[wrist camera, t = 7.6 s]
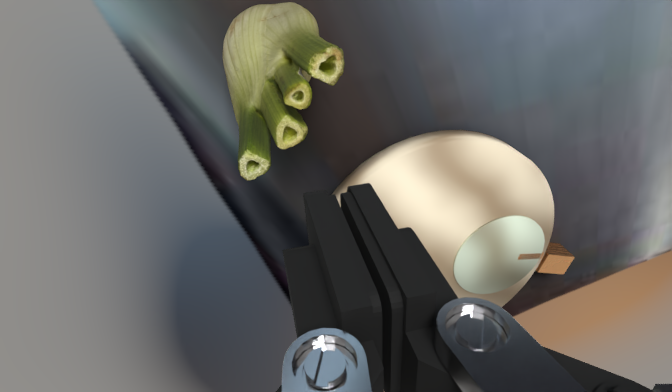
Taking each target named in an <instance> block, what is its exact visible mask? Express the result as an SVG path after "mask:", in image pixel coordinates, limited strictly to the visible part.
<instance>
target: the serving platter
mask: <svg viewBox="0 0 672 392" xmlns="http://www.w3.org/2000/svg"><path fill="white" fill-rule="evenodd" d="M365 183H370V184H371V185H372V187H373V189H374V190H375V192H376V194H377V195H378V197H379V198H380V200H381V202H382V203H383V205H384V207H385V208H386V210H387V211H388V213H389V215H390V216H391V218H392V220H393V221H394V223H395V225H396V226H397V228H398V229H400V228H406V227H410V228H412V230H413V231H414V232H415V233H416V235H417V236H418V238H419V239H420V241H421V242H422V244H423V245H424V247H425V249H426V250H427V252H428V253H429V255H430V256H431V258H432V259H433V261H434V262H435V264H436V265H437V267H438V268H439V270H440V271H441V273H442V274H443V276H444V277H445V279H446V280H447V282H448V283H449V285H450V286H451V288H452V289H453V291H454V292H455V294H456V295H457V297H458V298H463V297H472V298H480V299H484V300H488V301H490V302H492V303H494V304H496V305H498V306H500V307H502V306H504V305H505V304H506V303H507V302H508V301H509V300H511V299H512V298H513V297H514V296H515V295H516V294H517V292H518V291H519V290H520V289H521V288H522V287H523V286H524V285H525V284H526V282H527V281H528V280H529V279H530V277H531V276H532V274H533V273H534V271H535V270H536V268H537V267H538V265H539V263H540V262H541V260H542V258H543V256H544V254H545V252H546V249H547V247H548V244H549V241H550V238H551V234H552V230H553V223H554V202H553V197H552V192H551V190H550V187H549V185H548V182H547V180H546V178H545V177H544V175H543V174H542V172H541V171H540V169H539V168H538V167H537V166H536V165H535V164H534V163H533V162H532V161H531V160H529V159H528V158H527V157H525V156H524V155H522V154H521V153H520V152H518V151H517V150H515V149H514V148H512V147H511V146H509V145H508V144H507V143H505V142H503V141H501V140H499V139H497V138H495V137H493V136H490V135H487V134H483V133H480V132H474V131H467V130H442V131H436V132H429V133H425V134H421V135H417V136H414V137H410V138H408V139H405V140H403V141H400V142H398V143H395V144H393V145H391V146H389V147H387V148H385V149H384V150H382V151H380V152H378V153H376V154H375V155H373V156H372V157H371V158H369V159H368V160H366V161H365V162H363V163H362V164H361V165H360V166H358V167H357V168H356V169H355V170H354V171H353V172H352V173H350V174H349V175H348V176H347V177H346V178H345V179H344V181H343V182H342V183H341V184H340V185H339V186H338V187H337V188H336V189H335V191H334V192H333V194H335V196H336V198H337V200H338V202H339V205H340V207H341V202H340V194H341V193H345V192H347V187H348V186H353V185H359V184H365ZM333 194H332V195H333Z"/></svg>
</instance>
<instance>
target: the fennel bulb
mask: <svg viewBox="0 0 672 392" xmlns="http://www.w3.org/2000/svg"><path fill="white" fill-rule="evenodd" d="M223 64H224V69H225V73H226V77H227V83H228V88H229V91H230V95H231V101H232V104H233V109H234V113H235V116H236V120H237V123H238V125H239V150H238V169H239V172H240V175H241V176H242V177H243V178H244V179H246V180H253V179H256V177H258V176H260V175H262V174H265V173H266V172H267V171H268V170H269V168H270V166H271V153H270V151H271V147H270V143H271V140H270V133H271V135H272V137H273V139H274V141H275V143H276V145H277V146H278V147H279V148H280V149H287V148H290V147H293V146H295V145H297V144H298V143H300V142H301V141H303V140H304V139H305V137H306V135H307V133H308V128H307V125H306V123H305V122H304V121H303V119H302V116H301V115H300V114H299V113H298V111H297V110H296V108H297V109H300V110H301V109H306V108H308V106H309V105H310V103H311V99H312V90H311V87H310V85H309V81H310V78H311V76H312V77H314V78H316V79H319V80H320V81H322V82H325V83H327V84H330V85H335V84H336V82H337V81H338V80H339V77H340V76H341V75H342V74H343V69H344V65H345V63H344V55H343V51H342V49H340V48H339V47H338V46H336V45H332V44H331V43H329V42H326V41H325V40H324V39H322V38H320V37H319V30H318V25H317V22H316V20H315V18H314V16H313V15H312V14H311V13H310V12H309V11H308V10H307V9H305V8H303V7H302V6H300V5H298V4H296V3H291V2H288V3H279V4H260V5H255V6H252V7H250V8H248V9H246V10H245V11H243V12H242V13H240V14H239V15H238V16H237V17H236V18H235V19H234V20H233V21H232V23H231V25H230V27H229V29H228V31H227V33H226V35H225V39H224V45H223Z"/></svg>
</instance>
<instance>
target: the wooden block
mask: <svg viewBox="0 0 672 392" xmlns="http://www.w3.org/2000/svg"><path fill="white" fill-rule="evenodd" d="M574 258H575V257H574V256H573V255H572V254H571V253H570V252H569V251H567V250H566V249H565V248H564V247H563V246H562V245H561V244H557V243H549V244H548V247H547V249H546V252H545V254H544V256H543V258H542V260H541V262H540V263H539V265H538V267H537V268H536V271H537V272H541V273H554V274H564V273H565V271H566V270H567V268H568V267H569V265H570V264H571V262H572V261H573V259H574Z"/></svg>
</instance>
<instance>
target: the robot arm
mask: <svg viewBox="0 0 672 392" xmlns="http://www.w3.org/2000/svg"><path fill="white" fill-rule="evenodd" d="M340 202H341V207H340V205H339V202H338V200H337V198H336V196H335V194H333V195H328V194H327V192H326V190H322V191H316V192H310V193H304V204H305V213H306V222H307V230H308V239H309V245H308V246H302V247H297V248H291V249H286V250H283V256H284V262H285V268H286V275H287V281H288V287H289V293H290V299H291V304H292V310H293V315H294V321H295V327H296V333H297V340H295V341H294V342H293V343H292V344H291V346H290V347H289V349H288V350H287V352H286V354H285V358H284V362H283V370H282V385H281V386H280V387H279V389H278V390H277V391H276V392H384V391H385V392H672V384H655V386H654V388H653V390H650V389H648V388H646V387H644V386H642V385H640V384H638V383H636V382H634V381H632V380H629V379H626V378H624V377H621V376H618V375H616V374H613V373H611V372H608V371H606V370H603V369H600V368H598V367H595V366H592V365H590V364H587V363H585V362H582V361H579V360H577V359H574V358H571V357H569V356H566V355H564V354H561V353H558V352H556V351H553V350H550V349H548V348H545V347H543V346H541V345H540V344H539V343H538V342H537V341H536V340H535V339H534V338H533V337H532V336H531V335H530V334H529V333H528V332H527V331H526V330H525V329H524V328H523V327H522V326H521V325H520V324H519V323H518V322H517V321H516V320H515V319H514V318H513V317H512V316H511V315H510V314H509V313H508V312H506V311H505V310H504V309H503V308H501V307H500V306H498V305H496V304H494V303H492V302H490V301H488V300H484V299H480V298H472V297H463V298H458V297H457V295H456V294H455V292H454V291H453V289H452V288H451V286H450V285H449V283H448V282H447V280H446V279H445V277H444V276H443V274H442V273H441V271H440V270H439V268H438V267H437V265H436V264H435V262H434V261H433V259H432V258H431V256H430V255H429V253H428V252H427V250H426V249H425V247H424V245H423V244H422V242H421V241H420V239H419V238H418V236H417V235H416V233H415V232H414V231H413V230H412V228H410V227H406V228H400V229H398V228H397V226H396V225H395V223H394V221H393V220H392V218H391V216H390V215H389V213H388V211H387V210H386V208H385V207H384V205H383V203H382V202H381V200H380V198H379V197H378V195H377V194H376V192H375V190H374V189H373V187H372V185H371V184H370V183H365V184H359V185H353V186H348V187H347V192H345V193H341V194H340Z"/></svg>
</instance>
